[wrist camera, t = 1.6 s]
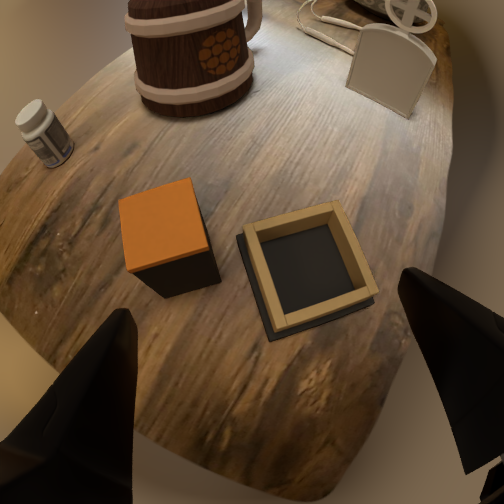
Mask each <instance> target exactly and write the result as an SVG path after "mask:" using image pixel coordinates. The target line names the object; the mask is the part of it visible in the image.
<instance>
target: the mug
mask: <svg viewBox="0 0 504 504" xmlns="http://www.w3.org/2000/svg"><path fill="white" fill-rule="evenodd" d="M244 8H245V3H244V0H130V1H129V2H128V10H129V11H128V13H127V14H126V15H125V28H126V31H128V32H129V33H131V38H132V44H133V50H134V56H135V62H136V67H137V69H136V71H135V73H134V77H135V85H136V90H137V91H138V92H139V93H140V94H141V97H142V102H143V103H144V104H145V105H146V106H147V107H148V108H149V109H150V110H151V111H154V112H156V113H159V114H161V115H165V116H175V117H191V116H201V115H205V114H208V113H212V112H215V111H219V110H221V109H222V108H224V107H226V106H228V105H230V104H232V103H234V102H236V101H237V100H238V99H239V98H241V97H242V96H243V95H244V94H245V93H246V92H247V91H248V90H249V88H250V86H251V84H252V82H253V76H252V70H253V69H254V58H253V54H252V51H251V50H250V49H249V47H248V46H247V42H248V41H250V40H251V39H252V38H253V37H254V35H255V34H256V33H257V32H258V30H259V29H260V26H261V21H262V0H247V9H248V20H247V25H246V27H245V29H244V23H243V17H242V10H243V9H244Z"/></svg>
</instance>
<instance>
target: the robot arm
mask: <svg viewBox="0 0 504 504" xmlns="http://www.w3.org/2000/svg"><path fill="white" fill-rule="evenodd" d="M398 295H399V297H400V300H401V302H402V305H403V308H404V310H405V313H406V316H407V319H408V322H409V324H410V327H411V330H412V332H413V334H414V336H415V339H416V341H417V343H418V345H419V347H420V349H421V352H422V354H423V356H424V359H425V361H426V363H427V366H428V368H429V370H430V373H431V375H432V378H433V380H434V383H435V385H436V388H437V390H438V392H439V395H440V398H441V401H442V403H443V406H444V409H445V412H446V414H447V417H448V420H449V423H450V426H451V429H452V432H453V435H454V438H455V442H456V445H457V448H458V451H459V454H460V458H461V461H462V465H463V469H464V472H465V474H466V475H467V474H469V473H471V472H473V471H475V470H476V469H478V468H480V467H482V466H483V465H485V464H487V463H488V462H490V461H492V460H493V459H495V458H497V457H498V456H500V457H501V459H502V461H500V462H499V463H498V464H497V465H495V466H494V467H493V468H491V469H490V470H489V472H488V475H487V479H486V481H485V485H484V487H483V490H482V492H481V495H480V500H481V502H480V503H479V504H504V318H503V317H501V316H499V315H498V314H496V313H495V312H492V311H491V310H490V309H488V308H486V307H484V306H483V305H481V304H480V303H478V302H476V301H474V300H473V299H471V298H469V297H468V296H466V295H464V294H462V293H461V292H459V291H457V290H455V289H454V288H452V287H450V286H448V285H447V284H445V283H443V282H441V281H439V280H438V279H436V278H434V277H432V276H430V275H428V274H427V273H425V272H423V271H421V270H419V269H417V268H415V267H409V268H405V269H403V271H402V274H401V277H400V281H399V284H398ZM137 375H138V329H137V325H136V323H135V321H134V319H133V317H132V315H131V313H130V311H129V309H127V308H119V309H115V310H114V311H113V312H112V313H111V315H110V316H109V317H108V318H107V319H106V320H105V321H104V322H103V324H102V325H101V326H100V327H99V328H98V329H97V331H96V332H95V333H94V334H93V335H92V336H91V338H90V339H89V340H88V341H87V342H86V343H85V345H84V346H83V347H82V348H81V349H80V351H79V352H78V353H77V354H76V355H75V357H74V358H73V359H72V360H71V361H70V363H69V364H68V365H67V366H66V368H65V369H64V370H63V371H62V372H61V374H60V375H59V376H58V378H57V379H56V380H55V381H54V383H53V385H51V386H50V387H49V389H48V390H47V392H46V393H45V394H44V395H43V396H42V398H41V399H40V400H39V401H38V403H37V404H36V405H35V406H34V407H33V408H32V409H31V411H30V412H29V413H28V414H27V415H26V416H25V417H24V418H23V420H22V421H21V422H20V423H19V424H18V425H17V426H16V428H15V429H14V430H13V431H12V432H11V433H10V434H9V435H8V436H7V437H6V438H5V439H4V440H3V441H1V442H0V504H133V495H132V453H133V428H134V412H135V398H136V387H137Z"/></svg>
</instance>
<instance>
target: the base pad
mask: <svg viewBox="0 0 504 504" xmlns="http://www.w3.org/2000/svg"><path fill="white" fill-rule="evenodd" d="M236 239H237V243H238V246H239V250H240V253H241V256H242V259H243V262H244V265H245V269H246V272H247V275H248V278H249V281H250V284H251V287H252V290H253V294H254V297H255V300H256V303H257V306H258V309H259V312H260V315H261V318H262V321H263V324H264V328H265V331H266V334H267V337H268V340H269V342H272V341H275V340H278V339H281V338H284V337H287V336H290V335H293V334H296V333H299V332H302V331H304V330H307V329H310V328H313V327H316V326H319V325H321V324H324V323H327V322H329V321H332V320H335V319H337V318H340V317H343V316H345V315H348V314H350V313H353V312H356V311H358V310H361V309H363V308H366V307H368V306H370V305H372V304H374V303H375V302H374V300H373V297H372V296H374V295H376V294H377V293H379V290H378V288H377V285H376V283H375V280H374V278H373V275H372V273H371V270H370V268H369V266H368V263H367V261H366V258H365V256H364V254H363V252H362V249H361V247H360V245H359V242H358V240H357V238H356V236H355V233H354V231H353V229H352V227H351V225H350V223H349V220H348V218H347V216H346V214H345V212H344V210H343V208H342V206H341V204H340V202H339V200H335V201H331V202H327V203H323V204H319V205H316V206H312V207H308V208H304V209H301V210H297V211H293V212H289V213H286V214H282V215H278V216H275V217H271V218H268V219H264V220H260V221H257V222H253V224H252V223H250V224H247V225H243V233H242V234H238V235H236Z"/></svg>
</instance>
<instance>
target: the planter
mask: <svg viewBox="0 0 504 504" xmlns="http://www.w3.org/2000/svg"><path fill="white" fill-rule="evenodd" d="M354 1H356V2H358V3H359V4H360V5H361V6H362V7H363V8H365V9H366V10H368V11H369V12H371V13H373V14H374V15H377V16H379V17H381V18H384V19H387V20H391V19H390V17H389V16H388V14H387V12H386V8H385V1H383V0H354ZM401 1H403V2H405V3H407V2H408V0H401ZM428 6H429V5H428V3H427V2H426V1H425V0H420V3H419V6H418V9H420V10H422V11H424V12H427V9H428ZM392 8H393V11H394V13H395V14H396V16H397V17H398V18H399V19H400V20H401V21H402V18H403V15H404V11H405V10H403V9H400V8H398V7H396V6H393V5H392ZM391 21H392V20H391ZM413 22H415V23H420V22H423V19H421V18H419V17H417V16H415V18H414V21H413Z"/></svg>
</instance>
